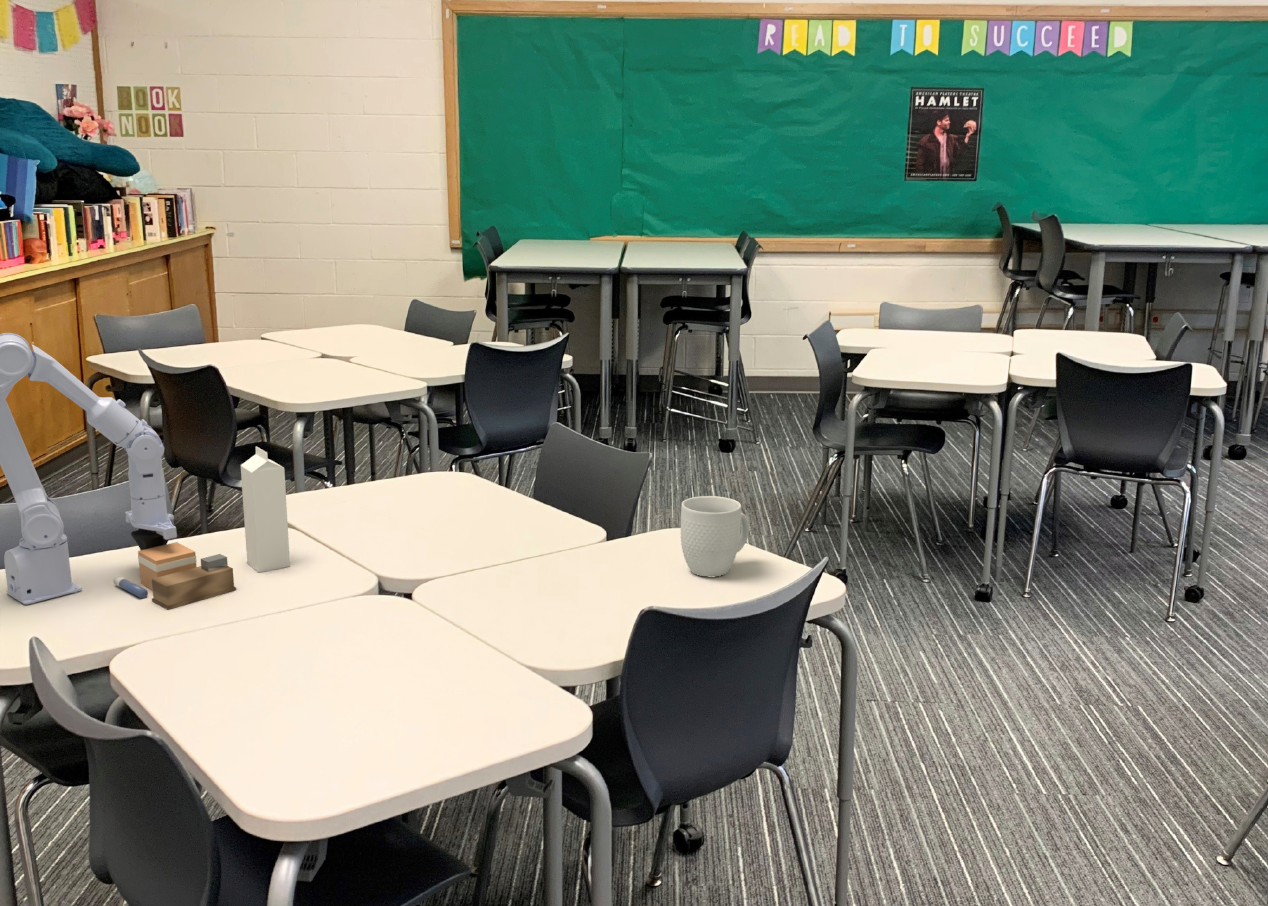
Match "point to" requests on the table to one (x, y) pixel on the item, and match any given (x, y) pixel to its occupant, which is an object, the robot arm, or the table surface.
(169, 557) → the carton
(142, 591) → the marker
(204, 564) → the eraser
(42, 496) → the robot arm
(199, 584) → the podium
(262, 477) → the milk
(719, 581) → the table surface
